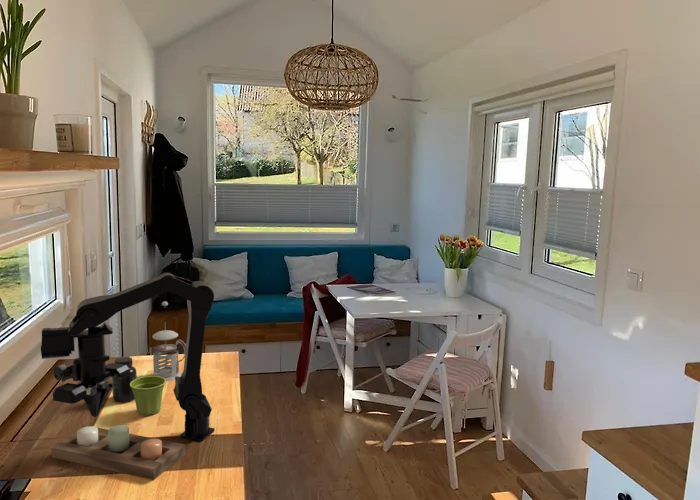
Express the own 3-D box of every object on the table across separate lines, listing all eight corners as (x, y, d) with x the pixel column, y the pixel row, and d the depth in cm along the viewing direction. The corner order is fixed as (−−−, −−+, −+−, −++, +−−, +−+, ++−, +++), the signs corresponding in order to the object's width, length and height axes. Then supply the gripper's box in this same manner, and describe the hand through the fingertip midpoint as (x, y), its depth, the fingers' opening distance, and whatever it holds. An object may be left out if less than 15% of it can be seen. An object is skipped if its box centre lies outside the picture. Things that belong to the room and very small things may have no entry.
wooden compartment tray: (89, 435, 143) (89, 425, 143) (185, 454, 135) (185, 444, 134) (51, 457, 132) (51, 447, 131) (153, 480, 123) (153, 469, 123)
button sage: (117, 441, 136) (117, 423, 135) (133, 444, 134) (133, 426, 134) (104, 449, 131) (103, 432, 131) (120, 453, 130) (120, 435, 129)
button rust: (149, 454, 133) (149, 437, 133) (166, 458, 132) (165, 440, 131) (136, 464, 129) (136, 446, 128) (153, 468, 128) (153, 449, 127)
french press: (157, 370, 189) (155, 297, 186) (191, 371, 189) (190, 298, 186) (145, 380, 180) (143, 304, 176) (181, 382, 179) (180, 305, 176)
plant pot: (155, 420, 152) (154, 390, 151) (123, 416, 154) (122, 386, 153) (172, 406, 161) (172, 377, 160) (142, 403, 163) (142, 374, 162)
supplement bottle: (129, 392, 171) (128, 354, 169) (141, 398, 166) (140, 359, 165) (107, 398, 165) (106, 359, 164) (119, 405, 161) (118, 365, 159)
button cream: (87, 442, 139) (86, 425, 138) (102, 445, 137) (102, 428, 137) (73, 450, 134) (72, 433, 134) (88, 454, 133) (88, 436, 132)
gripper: (93, 338, 143) (96, 396, 145) (31, 361, 125) (35, 427, 128) (129, 343, 140) (132, 402, 142) (71, 368, 122) (75, 435, 124)
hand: (94, 416), depth 134 cm, fingers closed
